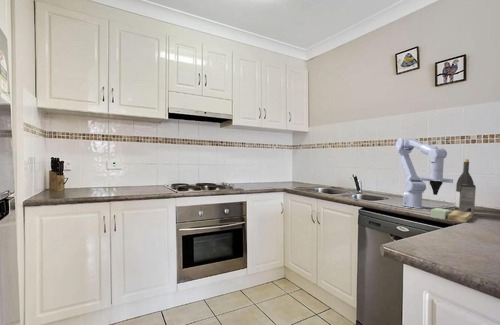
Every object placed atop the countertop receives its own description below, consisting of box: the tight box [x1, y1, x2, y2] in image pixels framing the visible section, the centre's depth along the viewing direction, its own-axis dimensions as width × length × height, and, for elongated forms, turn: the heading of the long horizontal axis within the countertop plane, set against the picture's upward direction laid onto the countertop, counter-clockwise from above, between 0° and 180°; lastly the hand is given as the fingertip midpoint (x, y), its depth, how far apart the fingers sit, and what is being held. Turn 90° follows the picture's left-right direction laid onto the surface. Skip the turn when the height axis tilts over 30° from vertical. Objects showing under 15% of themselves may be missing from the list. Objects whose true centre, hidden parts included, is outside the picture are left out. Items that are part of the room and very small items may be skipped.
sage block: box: [430, 207, 451, 220], centre depth 132 cm, size 6×8×4 cm
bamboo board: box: [446, 209, 473, 223], centre depth 129 cm, size 7×16×2 cm, turn 131°
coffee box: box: [458, 184, 477, 217], centre depth 141 cm, size 9×6×16 cm
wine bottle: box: [454, 158, 475, 211], centre depth 151 cm, size 8×8×30 cm
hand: (435, 194), depth 142 cm, fingers closed
